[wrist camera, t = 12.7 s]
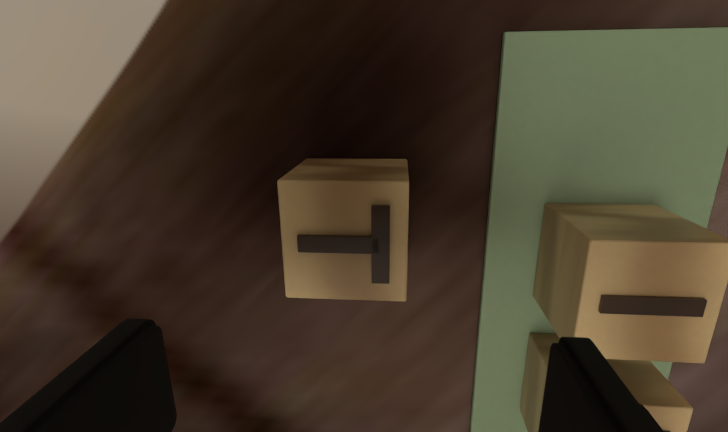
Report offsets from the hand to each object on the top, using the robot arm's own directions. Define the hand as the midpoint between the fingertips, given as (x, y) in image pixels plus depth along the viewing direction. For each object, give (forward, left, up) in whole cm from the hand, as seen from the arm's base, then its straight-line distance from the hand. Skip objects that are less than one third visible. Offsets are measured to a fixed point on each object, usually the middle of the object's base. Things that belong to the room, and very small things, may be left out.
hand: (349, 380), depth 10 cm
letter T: (-1, +1, -12) cm, 12 cm away
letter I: (+10, -1, -11) cm, 15 cm away
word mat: (+10, -2, -12) cm, 16 cm away
